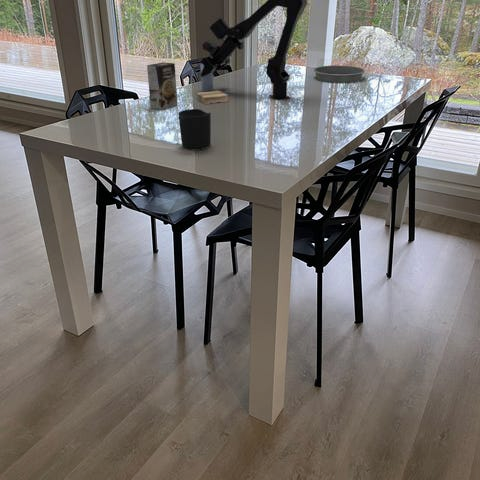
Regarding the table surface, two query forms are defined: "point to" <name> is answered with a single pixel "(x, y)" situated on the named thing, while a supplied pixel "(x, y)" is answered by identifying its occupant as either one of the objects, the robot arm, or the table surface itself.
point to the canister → (207, 81)
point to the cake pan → (338, 73)
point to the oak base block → (212, 97)
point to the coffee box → (162, 85)
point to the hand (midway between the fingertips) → (204, 75)
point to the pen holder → (195, 128)
